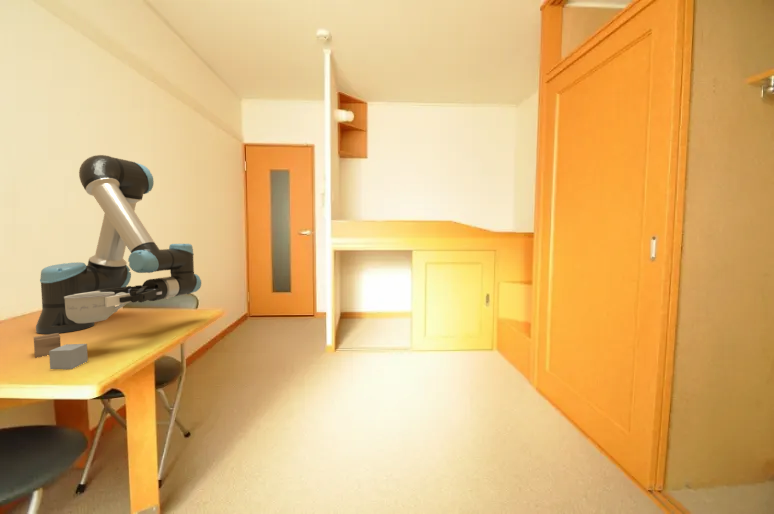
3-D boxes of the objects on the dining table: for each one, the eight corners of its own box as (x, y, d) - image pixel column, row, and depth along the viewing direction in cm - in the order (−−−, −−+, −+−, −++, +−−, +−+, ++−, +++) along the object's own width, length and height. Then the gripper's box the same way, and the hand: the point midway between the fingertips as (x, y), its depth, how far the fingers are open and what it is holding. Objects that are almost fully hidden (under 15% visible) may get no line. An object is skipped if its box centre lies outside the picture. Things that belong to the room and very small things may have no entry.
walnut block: (34, 353, 93) (33, 336, 93) (59, 349, 97) (58, 333, 96) (35, 358, 90) (34, 340, 89) (60, 353, 94) (60, 336, 93)
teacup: (58, 328, 86) (57, 298, 85) (71, 318, 95) (71, 291, 94) (126, 322, 93) (125, 294, 92) (132, 313, 102) (131, 288, 102)
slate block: (50, 370, 82) (49, 350, 82) (67, 362, 87) (66, 344, 87) (72, 369, 83) (71, 350, 82) (87, 361, 88) (86, 343, 87)
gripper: (187, 301, 112) (123, 317, 90) (133, 296, 117) (60, 310, 95) (187, 280, 111) (122, 290, 90) (133, 276, 116) (59, 284, 95)
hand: (90, 300), depth 92 cm, fingers closed on teacup, 11 cm apart
